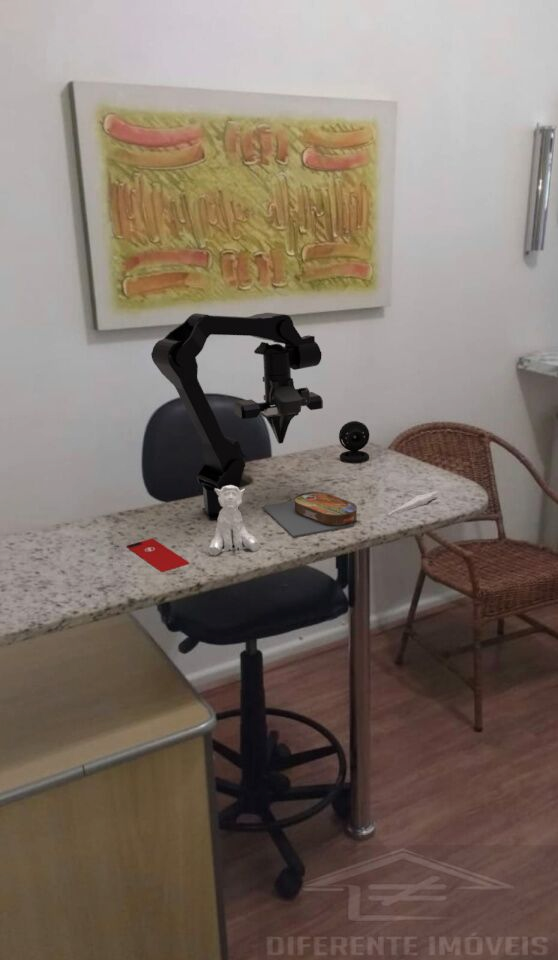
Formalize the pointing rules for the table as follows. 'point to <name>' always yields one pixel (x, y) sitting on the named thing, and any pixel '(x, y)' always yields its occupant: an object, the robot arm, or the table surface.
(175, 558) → the electronic device
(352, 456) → the webcam
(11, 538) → the table surface
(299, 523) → the mat
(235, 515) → the white creature statuette
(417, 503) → the white tapered figurine
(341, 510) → the tin
